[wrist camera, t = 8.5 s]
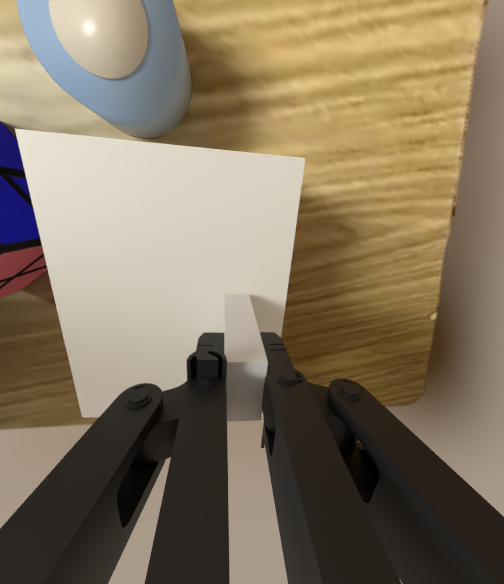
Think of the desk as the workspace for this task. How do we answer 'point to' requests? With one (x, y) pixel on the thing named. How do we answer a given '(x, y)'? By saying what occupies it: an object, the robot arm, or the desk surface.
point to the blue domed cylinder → (115, 58)
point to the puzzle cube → (16, 222)
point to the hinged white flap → (156, 250)
